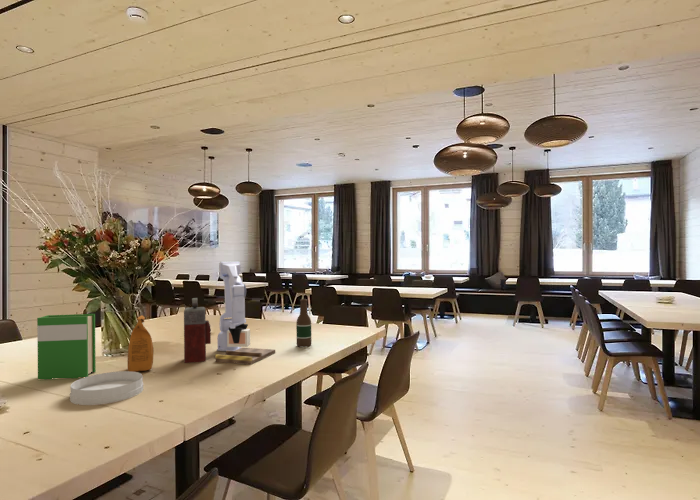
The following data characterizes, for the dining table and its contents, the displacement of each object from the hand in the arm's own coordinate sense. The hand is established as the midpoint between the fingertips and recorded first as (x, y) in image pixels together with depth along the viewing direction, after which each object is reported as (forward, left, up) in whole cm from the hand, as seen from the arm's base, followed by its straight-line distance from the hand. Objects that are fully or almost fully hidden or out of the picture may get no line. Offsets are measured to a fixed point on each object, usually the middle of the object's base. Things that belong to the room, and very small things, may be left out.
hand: (238, 341), depth 190 cm
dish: (-19, -51, -9) cm, 56 cm away
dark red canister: (-19, -3, -9) cm, 21 cm away
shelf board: (0, +7, -8) cm, 11 cm away
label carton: (0, 0, -2) cm, 2 cm away
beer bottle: (+16, +36, -9) cm, 40 cm away
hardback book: (-53, -39, -9) cm, 67 cm away
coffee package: (-32, -23, -9) cm, 41 cm away
